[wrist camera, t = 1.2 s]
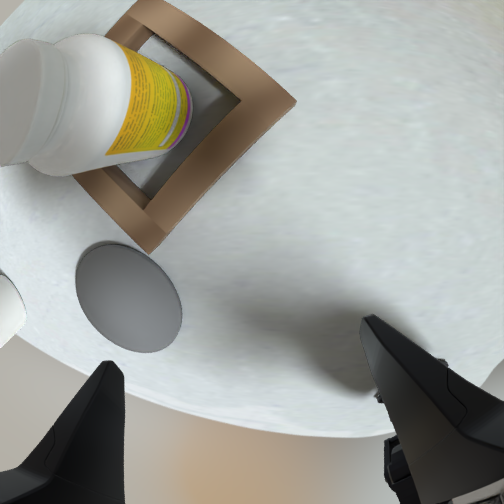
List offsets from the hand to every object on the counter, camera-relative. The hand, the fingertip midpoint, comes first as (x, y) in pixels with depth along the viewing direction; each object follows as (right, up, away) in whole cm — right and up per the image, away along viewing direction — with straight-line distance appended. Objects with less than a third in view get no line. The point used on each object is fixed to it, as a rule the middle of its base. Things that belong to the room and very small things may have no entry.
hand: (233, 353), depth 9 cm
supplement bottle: (-6, +13, +8) cm, 17 cm away
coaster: (-11, -1, +14) cm, 18 cm away
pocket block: (-6, +13, +8) cm, 17 cm away
